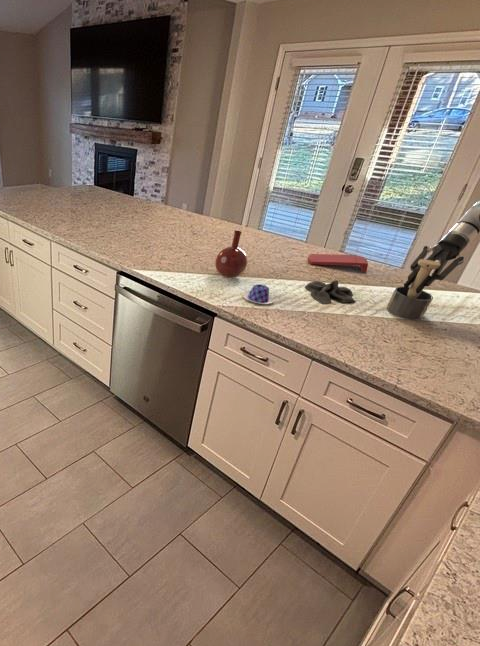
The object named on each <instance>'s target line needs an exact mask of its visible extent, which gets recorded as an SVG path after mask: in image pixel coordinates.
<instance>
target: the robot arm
mask: <svg viewBox="0 0 480 646" xmlns="http://www.w3.org/2000/svg"><path fill="white" fill-rule="evenodd" d="M479 233H480V200H479V201H476V202H475V203H474V204H473V205H472V206H470V208H468V209H467V211H466V212H465V214H463V216H462V217H461V218H459V220H458V221H457V222H456V224H454V225H453V226H452V228H450V229H449V231H448V232H447V234H445V235H444V236H443V237H442V238H441V239H440V240H439V242H438V243H437V244H436V245H434V246H432V247H431V246H430V247H429V246H428V245H424V246H423V249H422V251H421V253H420V254H419V255H418V256H417V257H416V258H415V260H413V262H412V263H411V264H410V266H409V268H410V271H411V272H410V274H408V276H407V280H406V281H405V282H404V284H403V287H404V288H405V289H407V288H408V287H410V286H411V284H412V282H413V281H414V279H415V277H416V276H417V274H418V272H419V270H420V268H421V266H420V265H419V264H418V261H419V260H420V259H425V258H426V257H427V256H428V255H429V254H430V253H431V252H432V253H431V254H430V255H429V256H428V257H427V258H426V260H431V261H435V262H437V261H439V263H440V266H439V268H437V269H434V271H433V273H431V274H430V275H428V277H427V278H426V279H425V280H424V281H423V282H422V283H421V284H420V285H419V286H418V287H417V288H416V293H418V294H419V293H420V292H421V290H422V289H423V290H424V288H425V287H430V286H431V285H432V284H433V283H434V282H435V281H440V282H441V281H443V280H444V279H445V278H446V277H448V275H450V274H451V273H452V272H453V270H454V269H456V268H457V267H458V266H459V265H461V264H464V262H465V257H464V256H462V255H460V254H461V252H463V250H464V249H466V247H467V246H468V244H470V243H471V242H472V241H473V240H474V239H475V238H476V236H477V235H478V234H479ZM451 260H453V261H451ZM449 261H451V262H450V264H448V266H447V267H445V266H446V265H447V263H448V262H449ZM444 267H445V268H444Z"/></svg>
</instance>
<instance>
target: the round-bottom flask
mask: <svg viewBox="0 0 480 646" xmlns="http://www.w3.org/2000/svg"><path fill="white" fill-rule="evenodd" d="M233 233H234V234H233V237H232V242H231V246H227V247H225V248H223V249H222V250H221V251H220V252H219V253H218V254H217V255H216V258H215V263H214V264H215V269H216V271H217V272H218V274H219V275H220V276H222V277H223V278H228V279H233V278H237V277H239V276H241V275H242V274H243V273H244V272H245V270H246V269H247V266H248V256H247V254H246V253H245V251H244V250H243V249H241V248H240V247H239V244H240V239H241V235H242V231H241V230H234V231H233Z"/></svg>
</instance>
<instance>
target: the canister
mask: <svg viewBox="0 0 480 646" xmlns="http://www.w3.org/2000/svg"><path fill="white" fill-rule="evenodd" d="M409 288H410V286H409V287H408V288H407V289H405V288H404V286H396V287H394V289H393V292H392V294H391V296H390V297H389V300H388V302H387V304H386V308H385V309H386V310H387V312H389V313H390V314H391V315H394V316H396V317H398V318H402V319H404V320H405V319H406V320H412V321H413V320H415V321H419V320H422V319H423V318H424V317H425V315H426V314H427V311H428V309H429V307H430V306H431V303H432V302H433V300H434V296H433V295H432V294H431V293H429V292H428V291H425V290H424V289H423V290H422V292H421V293H420V295H419V296H418V297H417V299H414V298H410V297H407V295H408V291H409Z"/></svg>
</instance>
